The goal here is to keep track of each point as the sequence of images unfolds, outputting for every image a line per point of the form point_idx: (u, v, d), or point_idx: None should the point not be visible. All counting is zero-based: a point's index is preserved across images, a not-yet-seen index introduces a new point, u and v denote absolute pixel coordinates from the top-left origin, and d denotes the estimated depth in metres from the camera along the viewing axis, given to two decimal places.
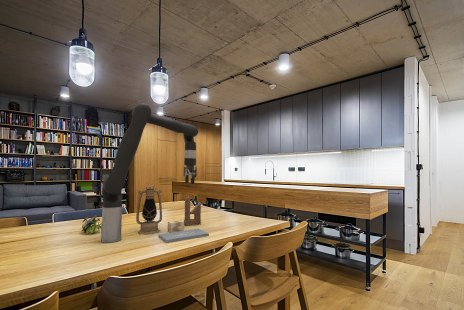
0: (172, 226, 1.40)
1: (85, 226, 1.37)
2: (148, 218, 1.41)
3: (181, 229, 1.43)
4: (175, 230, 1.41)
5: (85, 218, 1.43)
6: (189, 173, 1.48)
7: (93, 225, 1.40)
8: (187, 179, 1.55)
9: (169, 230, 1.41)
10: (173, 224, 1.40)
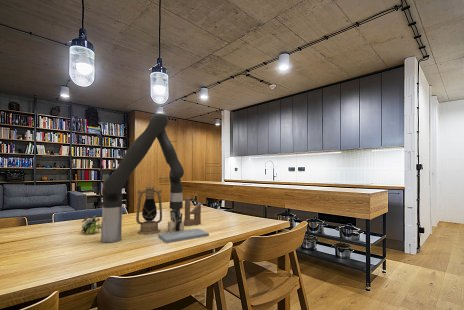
0: (172, 226, 1.40)
1: (85, 226, 1.37)
2: (148, 218, 1.41)
3: (181, 229, 1.43)
4: (175, 230, 1.41)
5: (85, 218, 1.42)
6: (174, 218, 1.41)
7: (93, 225, 1.39)
8: None
9: (169, 230, 1.41)
10: (173, 224, 1.40)
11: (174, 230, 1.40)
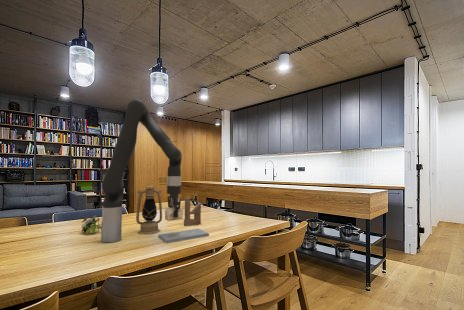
0: (170, 212, 1.27)
1: (85, 226, 1.37)
2: (148, 218, 1.41)
3: (180, 216, 1.30)
4: (173, 217, 1.28)
5: (85, 218, 1.42)
6: (172, 204, 1.28)
7: (93, 225, 1.39)
8: None
9: (166, 217, 1.28)
10: (171, 210, 1.27)
11: (172, 217, 1.28)
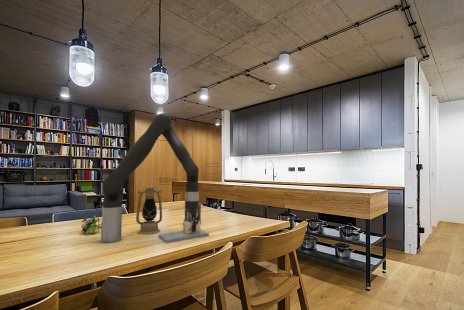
0: (188, 226, 1.32)
1: (85, 226, 1.37)
2: (148, 218, 1.41)
3: (197, 229, 1.35)
4: (191, 230, 1.33)
5: (85, 218, 1.42)
6: (190, 219, 1.33)
7: (93, 225, 1.39)
8: None
9: (185, 230, 1.33)
10: (189, 224, 1.33)
11: (190, 231, 1.33)
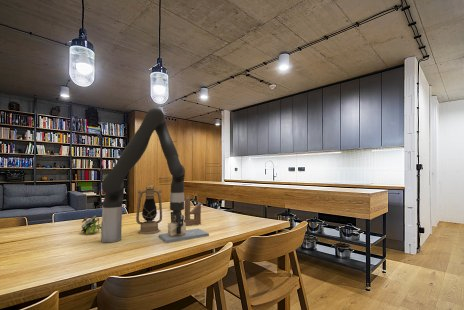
0: (173, 228, 1.27)
1: (85, 226, 1.37)
2: (148, 218, 1.41)
3: (182, 231, 1.30)
4: (176, 232, 1.28)
5: None
6: (175, 221, 1.28)
7: (93, 225, 1.39)
8: None
9: (169, 232, 1.28)
10: (174, 226, 1.28)
11: (175, 232, 1.28)
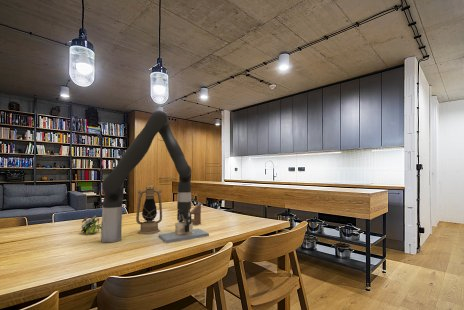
0: (180, 227, 1.30)
1: (85, 226, 1.37)
2: (148, 218, 1.41)
3: (189, 230, 1.33)
4: (183, 231, 1.31)
5: None
6: (183, 219, 1.30)
7: (93, 225, 1.39)
8: None
9: (177, 231, 1.31)
10: (181, 225, 1.30)
11: (182, 232, 1.30)
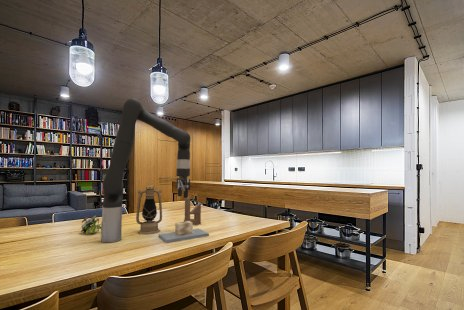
0: (180, 227, 1.30)
1: (85, 226, 1.37)
2: (148, 218, 1.41)
3: (189, 230, 1.33)
4: (183, 231, 1.31)
5: None
6: (182, 185, 1.32)
7: (93, 225, 1.39)
8: (180, 191, 1.39)
9: (177, 231, 1.31)
10: (181, 225, 1.30)
11: (182, 232, 1.30)
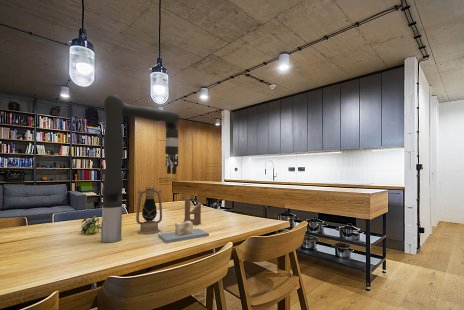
0: (180, 227, 1.30)
1: (85, 226, 1.37)
2: (148, 218, 1.41)
3: (189, 230, 1.33)
4: (183, 231, 1.31)
5: None
6: (170, 162, 1.38)
7: (93, 225, 1.39)
8: (169, 169, 1.45)
9: (177, 231, 1.31)
10: (181, 225, 1.30)
11: (182, 232, 1.30)
